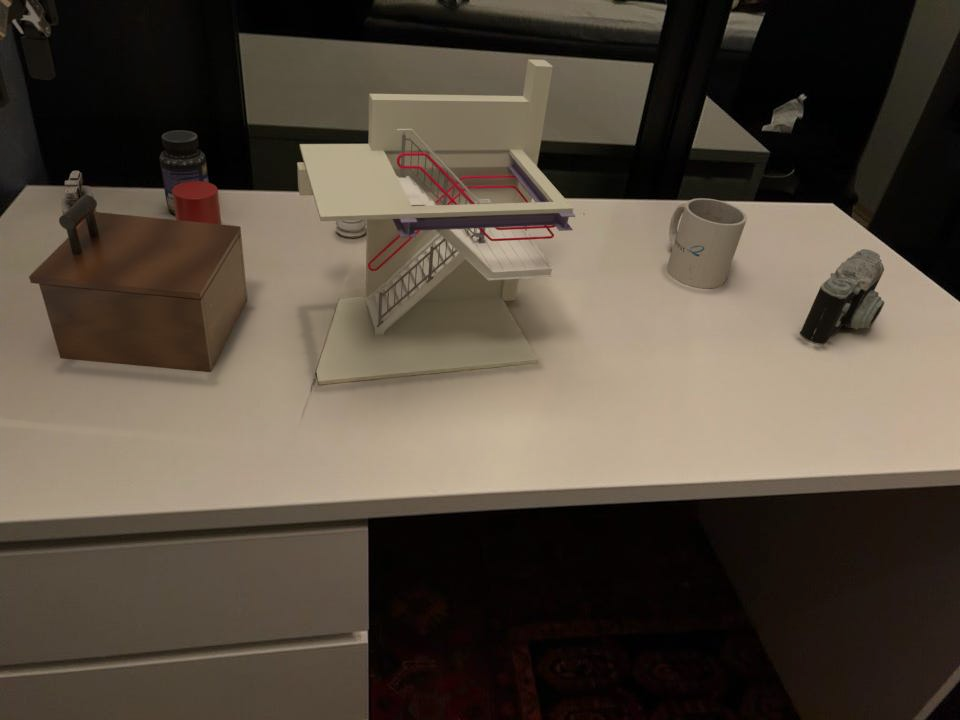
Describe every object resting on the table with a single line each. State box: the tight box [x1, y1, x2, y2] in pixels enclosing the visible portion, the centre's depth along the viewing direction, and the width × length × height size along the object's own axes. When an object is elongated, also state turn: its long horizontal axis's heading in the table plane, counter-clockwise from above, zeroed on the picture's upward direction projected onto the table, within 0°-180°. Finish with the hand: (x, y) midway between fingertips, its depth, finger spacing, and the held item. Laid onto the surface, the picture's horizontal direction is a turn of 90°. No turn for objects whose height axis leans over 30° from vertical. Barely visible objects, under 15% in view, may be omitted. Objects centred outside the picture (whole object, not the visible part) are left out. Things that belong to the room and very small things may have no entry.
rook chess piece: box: [335, 220, 367, 239], centre depth 106 cm, size 4×4×8 cm
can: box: [172, 181, 223, 225], centre depth 99 cm, size 6×6×8 cm
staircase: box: [296, 59, 576, 386], centre depth 80 cm, size 28×18×30 cm, turn 107°
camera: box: [799, 248, 885, 346], centre depth 98 cm, size 15×7×10 cm, turn 137°
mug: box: [666, 197, 748, 289], centre depth 108 cm, size 12×9×10 cm
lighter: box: [60, 170, 98, 229], centre depth 93 cm, size 8×3×10 cm, turn 16°
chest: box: [38, 232, 248, 373], centre depth 81 cm, size 16×15×10 cm
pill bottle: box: [159, 129, 210, 216], centre depth 105 cm, size 6×6×11 cm
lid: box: [28, 195, 242, 299], centre depth 77 cm, size 16×15×5 cm
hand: (21, 91), depth 68 cm, fingers open, 8 cm apart
